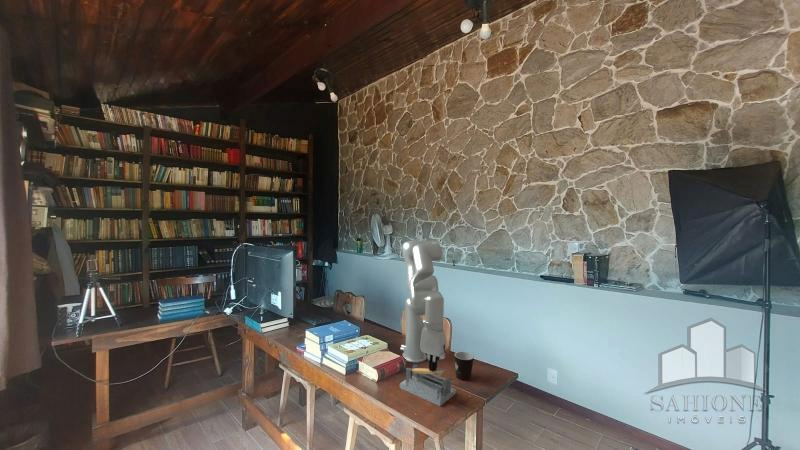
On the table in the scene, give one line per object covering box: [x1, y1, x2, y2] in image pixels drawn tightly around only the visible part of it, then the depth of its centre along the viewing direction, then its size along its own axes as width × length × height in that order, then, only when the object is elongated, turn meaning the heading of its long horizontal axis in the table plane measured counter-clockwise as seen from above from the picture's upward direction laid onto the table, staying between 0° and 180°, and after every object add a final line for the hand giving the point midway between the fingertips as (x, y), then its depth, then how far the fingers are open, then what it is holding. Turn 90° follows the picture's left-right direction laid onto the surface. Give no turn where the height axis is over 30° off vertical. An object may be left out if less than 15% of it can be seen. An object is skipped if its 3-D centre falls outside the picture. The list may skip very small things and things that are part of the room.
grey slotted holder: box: [399, 363, 457, 407], centre depth 138 cm, size 20×12×8 cm, turn 51°
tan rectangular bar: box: [411, 367, 446, 375], centre depth 139 cm, size 17×3×2 cm, turn 51°
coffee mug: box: [454, 351, 475, 382], centre depth 152 cm, size 12×9×10 cm
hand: (432, 369), depth 136 cm, fingers closed
